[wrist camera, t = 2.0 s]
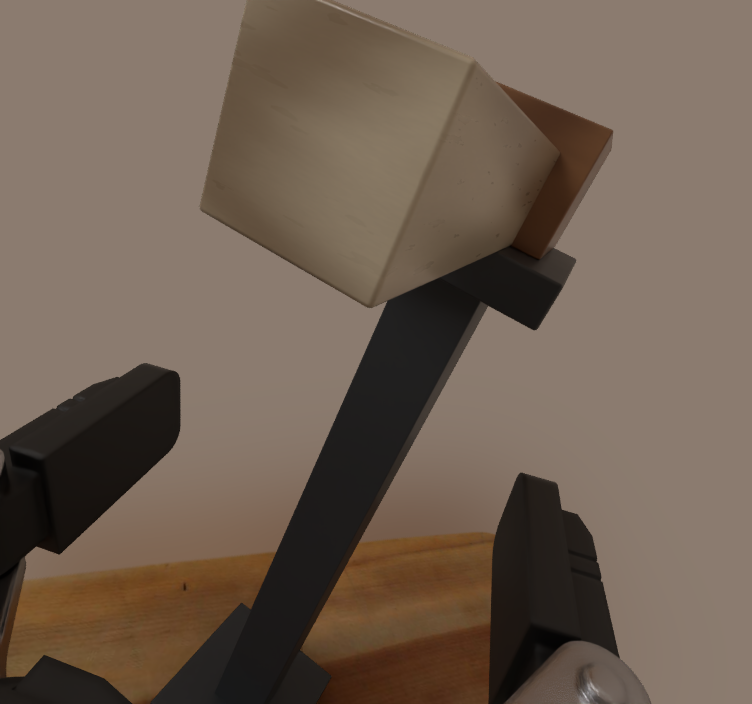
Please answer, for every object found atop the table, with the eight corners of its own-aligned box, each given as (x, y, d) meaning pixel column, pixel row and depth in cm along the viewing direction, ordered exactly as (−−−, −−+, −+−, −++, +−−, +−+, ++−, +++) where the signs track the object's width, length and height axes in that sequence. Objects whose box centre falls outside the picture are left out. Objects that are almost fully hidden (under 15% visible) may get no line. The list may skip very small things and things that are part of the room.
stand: (147, 710, 28) (330, 170, 15) (238, 610, 35) (420, 180, 21) (253, 810, 26) (580, 297, 13) (327, 683, 33) (589, 263, 20)
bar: (146, 180, 7) (205, -165, 5) (446, 195, 21) (490, 96, 19) (436, 351, 6) (631, -25, 4) (554, 248, 19) (612, 147, 18)
